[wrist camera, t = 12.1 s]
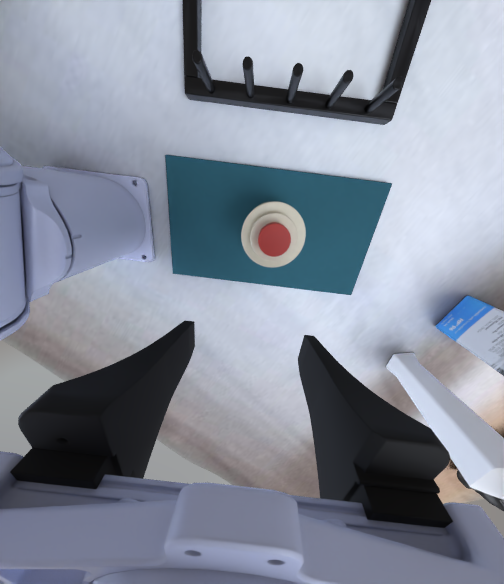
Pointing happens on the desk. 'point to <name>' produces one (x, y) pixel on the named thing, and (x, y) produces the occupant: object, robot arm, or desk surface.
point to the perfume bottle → (454, 426)
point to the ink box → (477, 330)
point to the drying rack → (291, 99)
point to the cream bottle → (273, 234)
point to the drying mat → (259, 189)
